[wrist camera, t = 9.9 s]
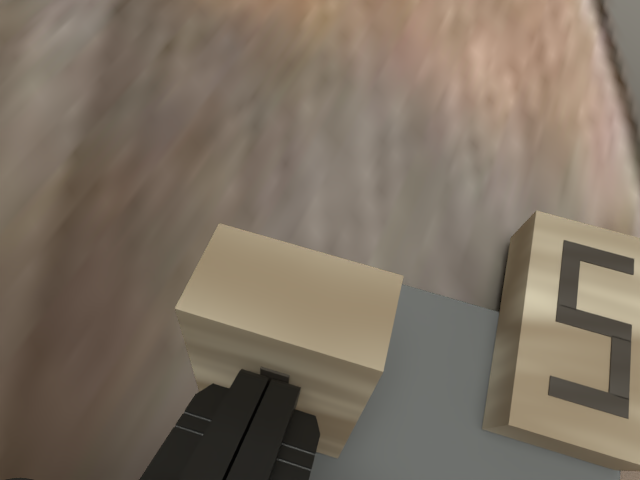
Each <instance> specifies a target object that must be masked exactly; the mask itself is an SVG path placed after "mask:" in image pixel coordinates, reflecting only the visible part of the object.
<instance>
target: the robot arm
mask: <svg viewBox="0 0 640 480" xmlns="http://www.w3.org/2000/svg"><path fill="white" fill-rule="evenodd" d="M300 391H301V387H298V386H295V385H292V384H289V383H286V382H283V381H279V380H276V379H273V378H272V380H271V381H270V378H269V377H266V376H263V375H260V374H257V373H253V372H250V371H247V370H244V369H241V370H240V371H239V373H238V374H237V376H236V378H235V380H234V381H233V383H232V385H231V387H230V388H226V387H223V386H220V385H217V384H214V383H212V384H211V385H209V386H208V387H206V388H205V389H203V390H202V391H200V392H198V393H197V394H195V396H194V397H193V399H192V400H191V402H190V403H189V405H188V406H187V408H186V410H185V412H184V414H182V416H181V417H180V419H179V420H178V422H177V423H176V426H175V428H173V429H172V431H171V432H170V434H169V435H168V437H167V438H166V440H165V441H164V443H163V445H162V446H161V448H160V449H159V451H158V452H157V454H156V455H155V457H154V458H153V460H152V461H151V463H150V464H149V466H148V467H147V469H146V470H145V472H144V473H143V475H142V476H141V478H140V479H139V480H309V477H310V473H311V469H312V466H313V462H314V458H315V454H316V450H317V446H318V442H319V438H320V431H319V427H318V423H317V419H316V416H315V415H312V414H308V413H305V412H302V411H299V410H296V406H297V402H298V398H299V395H300ZM7 480H32V479H27V478H12V479H7Z"/></svg>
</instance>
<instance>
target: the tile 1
mask: <svg viewBox="0 0 640 480" xmlns="http://www.w3.org/2000/svg"><path fill="white" fill-rule="evenodd" d="M402 281H403V276H402V275H399V274H395V273H392V272H388V271H385V270H381V269H378V268H374V267H371V266H367V265H364V264H360V263H357V262H353V261H350V260H346V259H343V258H339V257H336V256H332V255H329V254H325V253H322V252H318V251H315V250H311V249H308V248H304V247H301V246H297V245H294V244H290V243H287V242H283V241H279V240H276V239H272V238H269V237H265V236H262V235H258V234H255V233H251V232H248V231H244V230H241V229H237V228H234V227H230V226H227V225H223V224H220V223H219V225H218V227H217V229H216V231H215V232H214V234H213V236H212V238H211V240H210V242H209V244H208V246H207V248H206V250H205V252H204V254H203V255H202V257H201V259H200V261H199V263H198V265H197V267H196V269H195V271H194V273H193V275H192V277H191V278H190V280H189V282H188V284H187V286H186V288H185V290H184V292H183V294H182V296H181V298H180V300H179V301H178V303H177V305H176V307H175V311H176V314H177V318H178V321H179V325H180V328H181V331H182V335H183V338H184V341H185V345H186V348H187V352H188V355H189V358H190V362H191V365H192V369H193V372H194V375H195V379H196V382H197V385H198V389H199V392H200V391H202V390H203V389H205V388H206V387H208V386H209V385H211V384H212V383H214V384H217V385H220V386H223V387H226V388H230V387H231V385H232V383H233V381H234V380H235V378H236V376H237V374H238V373H239V371H240V370H241V369H244V370H247V371H250V372H253V373H257V374H260V375H263V376H266V377H269V378H270V381H271V380H272V378H273V379H276V380H279V381H283V382H286V383H289V384H292V385H295V386H298V387H301V391H300V395H299V398H298V402H297V406H296V410H299V411H302V412H305V413H308V414H312V415H315V416H316V419H317V423H318V427H319V431H320V438H319V442H318V446H317V450H316V452H318V453H322V454H325V455H328V456H331V457H334V458H337V459H338V457H339V455H340V453H341V451H342V449H343V448H344V446H345V444H346V442H347V440H348V438H349V436H350V434H351V432H352V430H353V429H354V427H355V425H356V423H357V421H358V419H359V417H360V415H361V413H362V411H363V410H364V408H365V406H366V404H367V402H368V400H369V398H370V396H371V394H372V392H373V391H374V389H375V387H376V385H377V383H378V381H379V379H380V377H381V375H382V373H383V371H384V366H385V362H386V357H387V352H388V347H389V343H390V338H391V333H392V328H393V324H394V319H395V314H396V309H397V305H398V300H399V295H400V290H401V286H402Z"/></svg>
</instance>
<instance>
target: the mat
mask: <svg viewBox="0 0 640 480" xmlns="http://www.w3.org/2000/svg"><path fill="white" fill-rule="evenodd" d="M498 319H499V312H497V311H494V310H490V309H487V308H483V307H480V306H476V305H473V304H469V303H466V302H462V301H459V300H455V299H452V298H448V297H445V296H441V295H438V294H434V293H431V292H427V291H424V290H420V289H417V288H413V287H410V286H406V285H403V284H402V286H401V290H400V295H399V300H398V305H397V309H396V314H395V319H394V324H393V328H392V333H391V338H390V343H389V347H388V352H387V357H386V362H385V366H384V371H383V373H382V375H381V377H380V379H379V381H378V383H377V385H376V387H375V389H374V391H373V392H372V394H371V396H370V398H369V400H368V402H367V404H366V406H365V408H364V410H363V411H362V413H361V415H360V417H359V419H358V421H357V423H356V425H355V427H354V429H353V430H352V432H351V434H350V436H349V438H348V440H347V442H346V444H345V446H344V448H343V449H342V451H341V453H340V455H339V457H338V459H337V458H334V457H331V456H328V455H325V454H322V453H318V452H316V454H315V458H314V462H313V466H312V469H311V473H310V477H309V480H620V470H612V469H609V468H606V467H603V466H599V465H596V464H593V463H590V462H586V461H583V460H580V459H577V458H573V457H570V456H567V455H564V454H560V453H557V452H554V451H551V450H547V449H544V448H541V447H538V446H535V445H531V444H528V443H525V442H522V441H518V440H515V439H512V438H509V437H505V436H502V435H499V434H496V433H492V432H489V431H486V430H483V429H482V426H483V419H484V412H485V406H486V399H487V392H488V386H489V379H490V372H491V366H492V359H493V352H494V346H495V339H496V332H497V326H498Z"/></svg>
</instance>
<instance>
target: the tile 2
mask: <svg viewBox="0 0 640 480" xmlns="http://www.w3.org/2000/svg"><path fill="white" fill-rule="evenodd" d="M482 429H483V430H486V431H489V432H492V433H496V434H499V435H502V436H505V437H509V438H512V439H515V440H518V441H522V442H525V443H528V444H531V445H535V446H538V447H541V448H544V449H547V450H551V451H554V452H557V453H560V454H564V455H567V456H570V457H573V458H577V459H580V460H583V461H586V462H590V463H593V464H596V465H599V466H603V467H606V468H609V469H612V470H622V471H640V238H637V237H633V236H629V235H626V234H622V233H618V232H614V231H611V230H607V229H603V228H600V227H596V226H592V225H588V224H585V223H581V222H577V221H573V220H570V219H566V218H562V217H558V216H555V215H551V214H547V213H543V212H540V211H536V212H535V213H534V214H533V215H532V216H531V217H530V218H529V219H528V220H527V221H526V222H525V223H524V224H523V225H522V226H521V228H520V229H519V230H518V231H517V232H516V233H515V234H514V235H513V236H512V237H511V239H510V246H509V253H508V259H507V266H506V272H505V279H504V286H503V292H502V299H501V306H500V312H499V319H498V326H497V332H496V339H495V346H494V352H493V359H492V366H491V372H490V379H489V386H488V392H487V399H486V406H485V412H484V419H483V426H482Z"/></svg>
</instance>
